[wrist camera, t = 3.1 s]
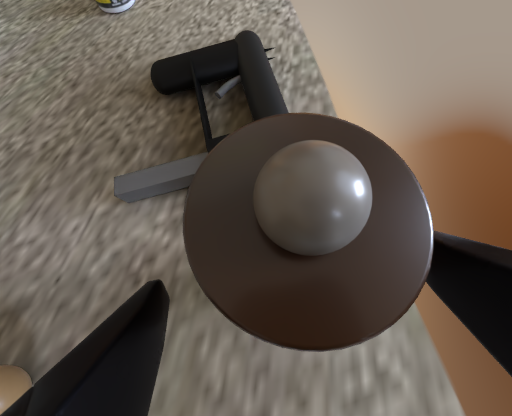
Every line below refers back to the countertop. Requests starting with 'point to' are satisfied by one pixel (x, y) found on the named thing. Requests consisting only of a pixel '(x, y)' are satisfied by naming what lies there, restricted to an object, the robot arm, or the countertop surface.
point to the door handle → (194, 75)
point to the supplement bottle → (114, 5)
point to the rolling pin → (12, 385)
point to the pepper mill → (308, 232)
